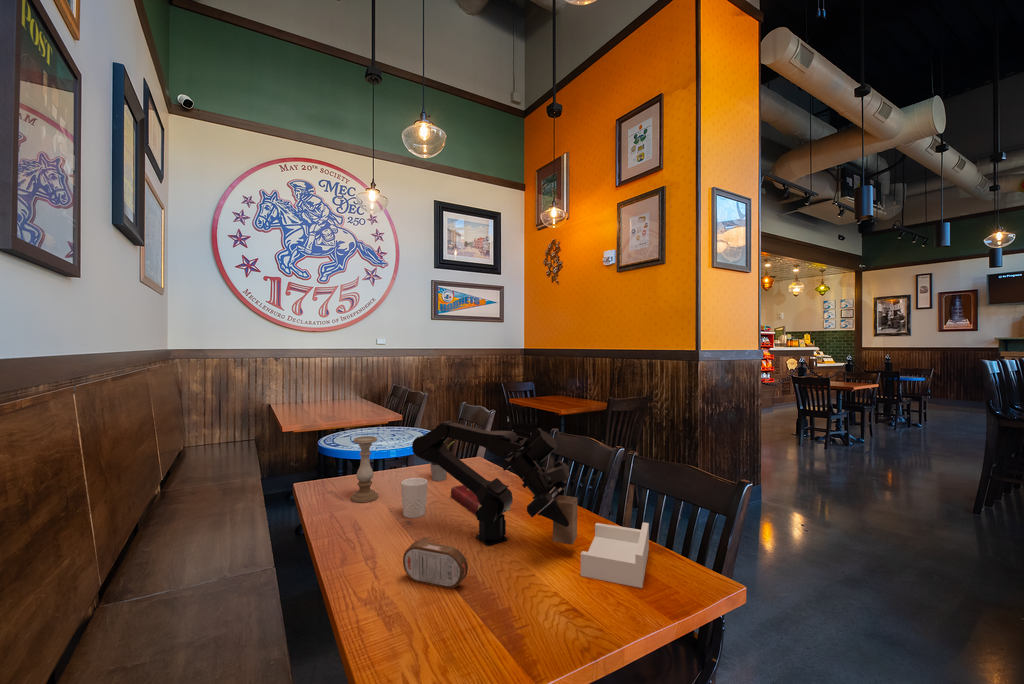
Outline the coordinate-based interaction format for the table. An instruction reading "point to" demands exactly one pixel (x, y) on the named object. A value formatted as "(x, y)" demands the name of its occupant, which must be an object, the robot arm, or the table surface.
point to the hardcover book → (466, 498)
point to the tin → (435, 564)
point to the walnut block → (570, 512)
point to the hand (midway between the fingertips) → (570, 521)
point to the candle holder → (364, 472)
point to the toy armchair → (617, 555)
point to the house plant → (438, 470)
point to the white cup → (414, 497)
